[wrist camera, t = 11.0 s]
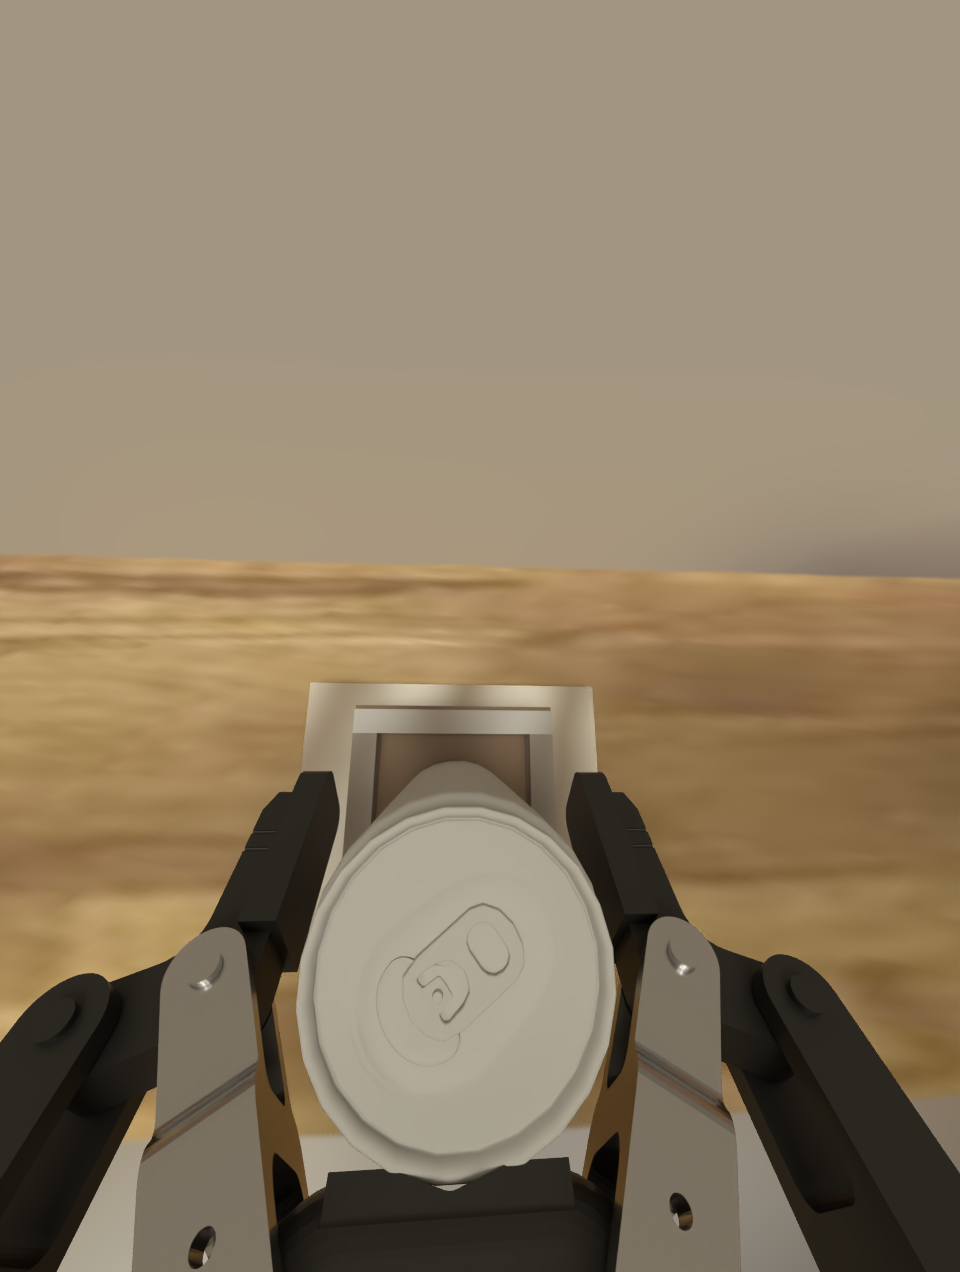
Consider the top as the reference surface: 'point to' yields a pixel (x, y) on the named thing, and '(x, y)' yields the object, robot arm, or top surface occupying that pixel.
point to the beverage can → (455, 982)
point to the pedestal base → (351, 694)
